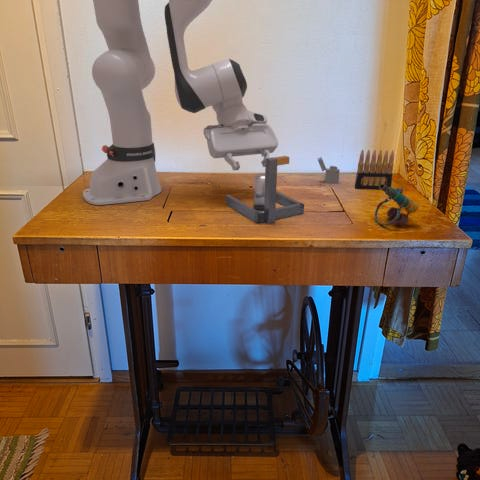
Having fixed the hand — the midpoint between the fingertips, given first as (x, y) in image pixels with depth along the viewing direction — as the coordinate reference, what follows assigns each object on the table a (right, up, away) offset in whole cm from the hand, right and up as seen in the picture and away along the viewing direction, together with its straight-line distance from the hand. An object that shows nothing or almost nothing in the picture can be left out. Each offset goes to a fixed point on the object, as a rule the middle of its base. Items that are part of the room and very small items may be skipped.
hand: (252, 167), depth 118 cm
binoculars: (+35, -15, -8) cm, 39 cm away
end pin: (+3, -11, +1) cm, 11 cm away
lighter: (+25, -1, +23) cm, 34 cm away
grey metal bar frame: (+4, -11, 0) cm, 12 cm away
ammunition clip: (+38, -4, +18) cm, 42 cm away
